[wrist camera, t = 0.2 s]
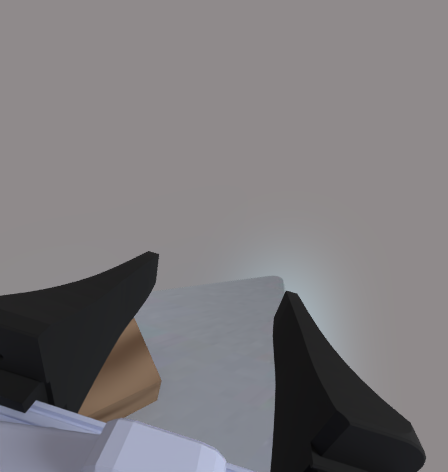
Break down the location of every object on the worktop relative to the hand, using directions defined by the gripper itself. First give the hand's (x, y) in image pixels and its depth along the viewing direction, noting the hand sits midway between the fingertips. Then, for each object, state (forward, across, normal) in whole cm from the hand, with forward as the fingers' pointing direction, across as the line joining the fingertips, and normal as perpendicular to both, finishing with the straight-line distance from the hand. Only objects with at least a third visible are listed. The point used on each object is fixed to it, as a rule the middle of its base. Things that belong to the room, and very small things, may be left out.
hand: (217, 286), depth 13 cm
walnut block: (+4, +10, +21) cm, 24 cm away
